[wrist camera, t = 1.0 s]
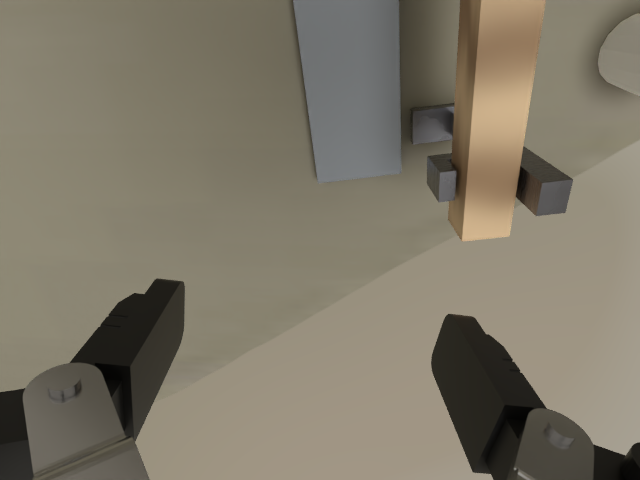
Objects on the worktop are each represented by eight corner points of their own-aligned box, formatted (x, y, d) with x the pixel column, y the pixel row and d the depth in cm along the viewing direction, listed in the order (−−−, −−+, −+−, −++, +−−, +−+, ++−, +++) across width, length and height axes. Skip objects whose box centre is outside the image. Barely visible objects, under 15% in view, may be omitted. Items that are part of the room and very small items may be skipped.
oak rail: (476, -281, 16) (508, -338, 13) (552, -295, 15) (600, -355, 13) (448, 219, 27) (462, 241, 25) (491, 214, 27) (509, 236, 25)
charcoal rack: (393, -124, 27) (485, -276, 12) (483, -139, 27) (687, -313, 12) (398, 142, 37) (452, 232, 22) (464, 134, 36) (563, 220, 22)
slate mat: (273, -155, 26) (270, -163, 25) (392, -175, 26) (396, -184, 24) (317, 177, 38) (317, 183, 37) (398, 167, 38) (401, 173, 37)
